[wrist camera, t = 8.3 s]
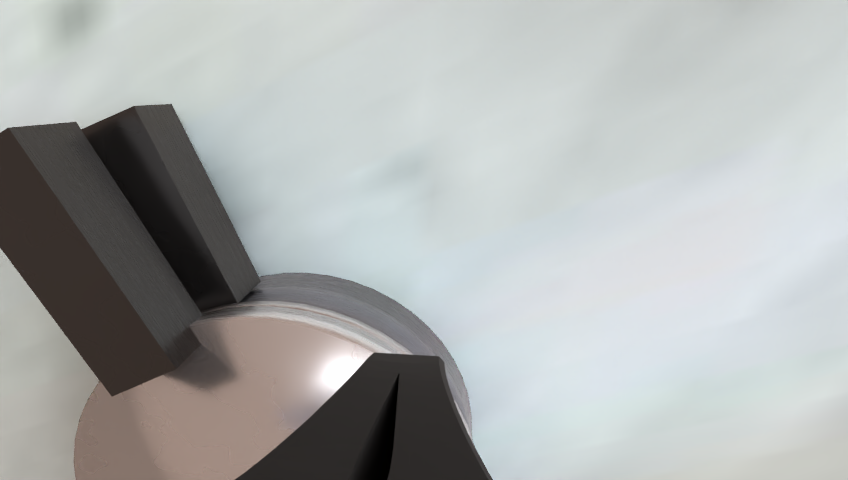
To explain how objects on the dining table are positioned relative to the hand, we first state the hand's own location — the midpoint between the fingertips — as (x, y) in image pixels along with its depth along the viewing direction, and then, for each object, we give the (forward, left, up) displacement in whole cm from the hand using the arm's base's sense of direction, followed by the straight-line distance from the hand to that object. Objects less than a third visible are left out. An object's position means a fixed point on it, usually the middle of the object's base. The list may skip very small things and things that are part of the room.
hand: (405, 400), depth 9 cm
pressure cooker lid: (-3, +8, -6) cm, 11 cm away
